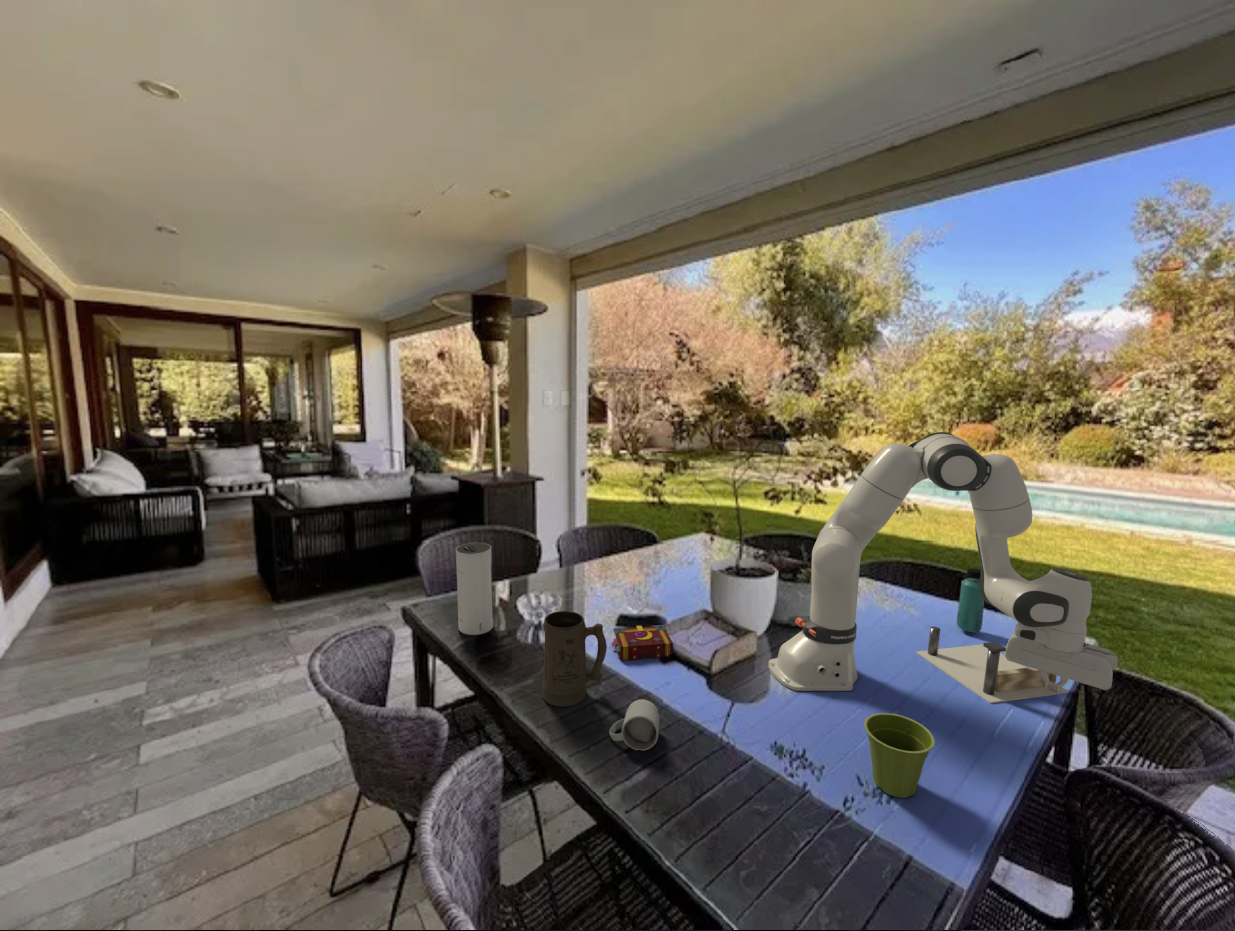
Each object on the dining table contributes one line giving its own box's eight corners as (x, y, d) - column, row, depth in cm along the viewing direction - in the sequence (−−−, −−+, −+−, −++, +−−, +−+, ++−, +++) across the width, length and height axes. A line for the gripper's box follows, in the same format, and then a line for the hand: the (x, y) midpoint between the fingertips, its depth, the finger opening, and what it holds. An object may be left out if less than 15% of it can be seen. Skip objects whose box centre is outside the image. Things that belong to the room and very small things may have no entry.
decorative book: (673, 658, 152) (673, 641, 151) (615, 662, 149) (615, 645, 148) (663, 638, 163) (663, 622, 162) (609, 642, 160) (609, 626, 159)
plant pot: (906, 762, 111) (911, 711, 109) (942, 808, 100) (949, 752, 98) (848, 763, 111) (853, 712, 109) (878, 809, 99) (883, 753, 97)
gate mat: (990, 703, 131) (990, 702, 131) (915, 652, 155) (915, 651, 155) (1068, 692, 136) (1068, 691, 136) (984, 645, 160) (984, 644, 160)
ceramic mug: (659, 727, 122) (659, 695, 120) (658, 752, 114) (658, 718, 112) (611, 724, 123) (611, 693, 121) (607, 749, 115) (606, 715, 113)
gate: (997, 692, 135) (1000, 669, 134) (990, 687, 137) (993, 665, 136) (1055, 684, 138) (1058, 662, 137) (1047, 680, 140) (1050, 658, 139)
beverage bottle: (984, 638, 164) (992, 574, 161) (960, 636, 165) (967, 572, 162) (975, 628, 170) (983, 566, 167) (951, 626, 172) (958, 565, 168)
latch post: (931, 657, 152) (934, 630, 151) (925, 653, 155) (928, 626, 153) (939, 656, 153) (942, 630, 152) (932, 652, 155) (935, 626, 154)
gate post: (988, 698, 134) (995, 649, 131) (977, 690, 137) (983, 642, 134) (999, 696, 134) (1006, 648, 132) (988, 689, 137) (994, 641, 135)
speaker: (496, 632, 165) (493, 549, 161) (460, 638, 161) (456, 553, 157) (490, 618, 175) (488, 539, 170) (456, 623, 171) (453, 542, 167)
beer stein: (542, 710, 127) (547, 629, 124) (536, 685, 137) (540, 609, 134) (606, 705, 131) (612, 626, 128) (596, 680, 142) (601, 607, 138)
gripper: (1120, 647, 126) (1110, 702, 128) (1011, 619, 140) (1004, 669, 142) (1118, 657, 121) (1108, 714, 123) (1007, 627, 135) (999, 678, 137)
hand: (1052, 690), depth 133 cm, fingers closed
